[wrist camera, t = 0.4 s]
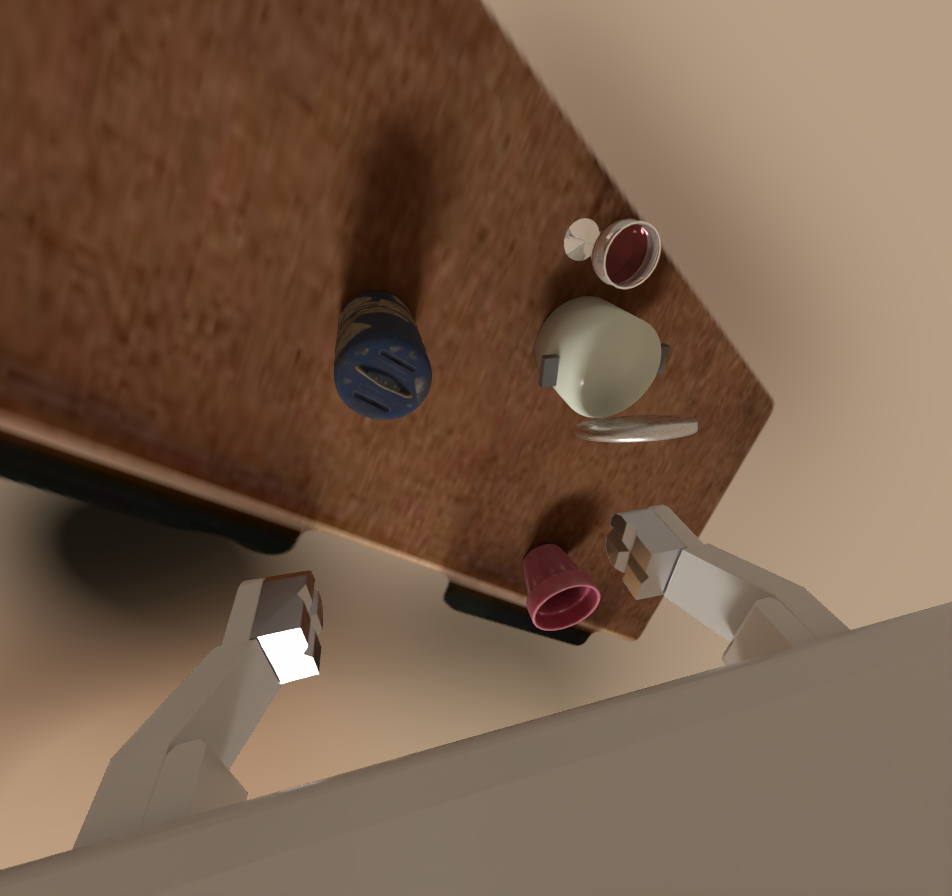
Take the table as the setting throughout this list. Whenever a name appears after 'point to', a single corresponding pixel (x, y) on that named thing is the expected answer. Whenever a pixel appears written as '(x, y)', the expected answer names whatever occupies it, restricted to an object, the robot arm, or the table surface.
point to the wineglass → (616, 249)
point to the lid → (636, 428)
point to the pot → (597, 356)
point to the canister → (380, 357)
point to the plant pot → (557, 589)
